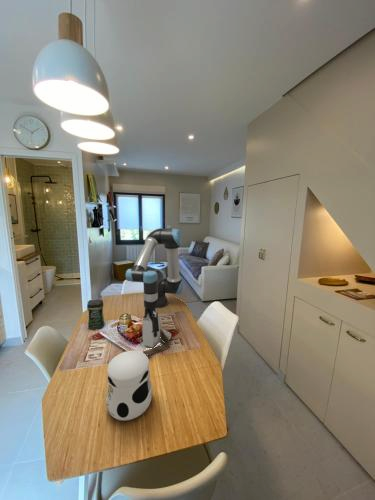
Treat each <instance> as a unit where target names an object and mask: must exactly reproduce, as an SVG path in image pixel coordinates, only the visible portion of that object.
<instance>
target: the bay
mask: <svg viewBox="0 0 375 500" xmlns="http://www.w3.org/2000/svg"><path fill="white" fill-rule="evenodd" d="M139 337H140V338H139ZM139 337H137V338H138V339H137V340H143V335H142V336H139ZM160 337H161V338H160V340H161V339H162V340H163V341H164V342H165V344H162V345H161V346H158V347H155V348H152V349H149V350H146V348H151V347H149V346H146V345H144V344H143V341H142V342H139V344H140V346H141V348H142V350H143V351H142V352H143V353H144V354H146V355H147V354H150V355H153V354H156V353H158V352H162V351H164V350H167V349H169V348H170V347H171V346H170V344H171V343H170V338H169V336H167V335H166V333H165V332H164V331H163V330H162V328H161V327H160ZM162 340H161V341H162ZM163 341H162V342H163ZM164 342H163V343H164ZM144 350H146V351H144ZM147 356H148V355H147Z"/></svg>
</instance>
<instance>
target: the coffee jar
mask: <svg viewBox="0 0 375 500" xmlns="http://www.w3.org/2000/svg"><path fill="white" fill-rule="evenodd" d="M103 308H104V301H103V299H90V300H88V301H87V305H86V309H87V311H88V324H87V326H88V329H89V330H98V329H102V328H103V327H104V326H105V317H104V311H103V310H104V309H103Z"/></svg>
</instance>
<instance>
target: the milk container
mask: <svg viewBox="0 0 375 500" xmlns="http://www.w3.org/2000/svg"><path fill="white" fill-rule="evenodd" d="M150 374H151V370H150V360H149V357H148V355H147V356H146V354H144V353H143V351H139V350H126V351H123V352H121V353H119V354H117V355H116V356H114V357H112V359H111V360H110V361H109V362H108V365H107V370H106V377H107V391H106V400H105V401H106V407H107V410H108V413H109V414H110V416H111V417H113V418H114V419H115V420H117V421H123V422H124V421H131V420H134V419H136V418H139V417H140V416H141V415H143V414H144V413H145V412H146V411H147V409H148V408H149V406H150V404H151V401H152V398H153V397H152V396H153V384H152V381H151V377H150Z"/></svg>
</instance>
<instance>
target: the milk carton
mask: <svg viewBox="0 0 375 500" xmlns="http://www.w3.org/2000/svg"><path fill="white" fill-rule="evenodd" d="M151 317H153V316H151ZM141 321H142V322H141V326H142V327H141V328H142V330H141V331H142V336H143V341H142V342H143V344H144V345H146V346H149V347H151V348H154V347H155V346H156V345H157V344H158V343H159V342H161V338H160V328H161V317H160V316H159V315H158V324H159V331H158V332H157V341H156V342H152V331H153V329H152V321H151V319H150V317H149V314H147V317H146V318H142V320H141Z"/></svg>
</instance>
